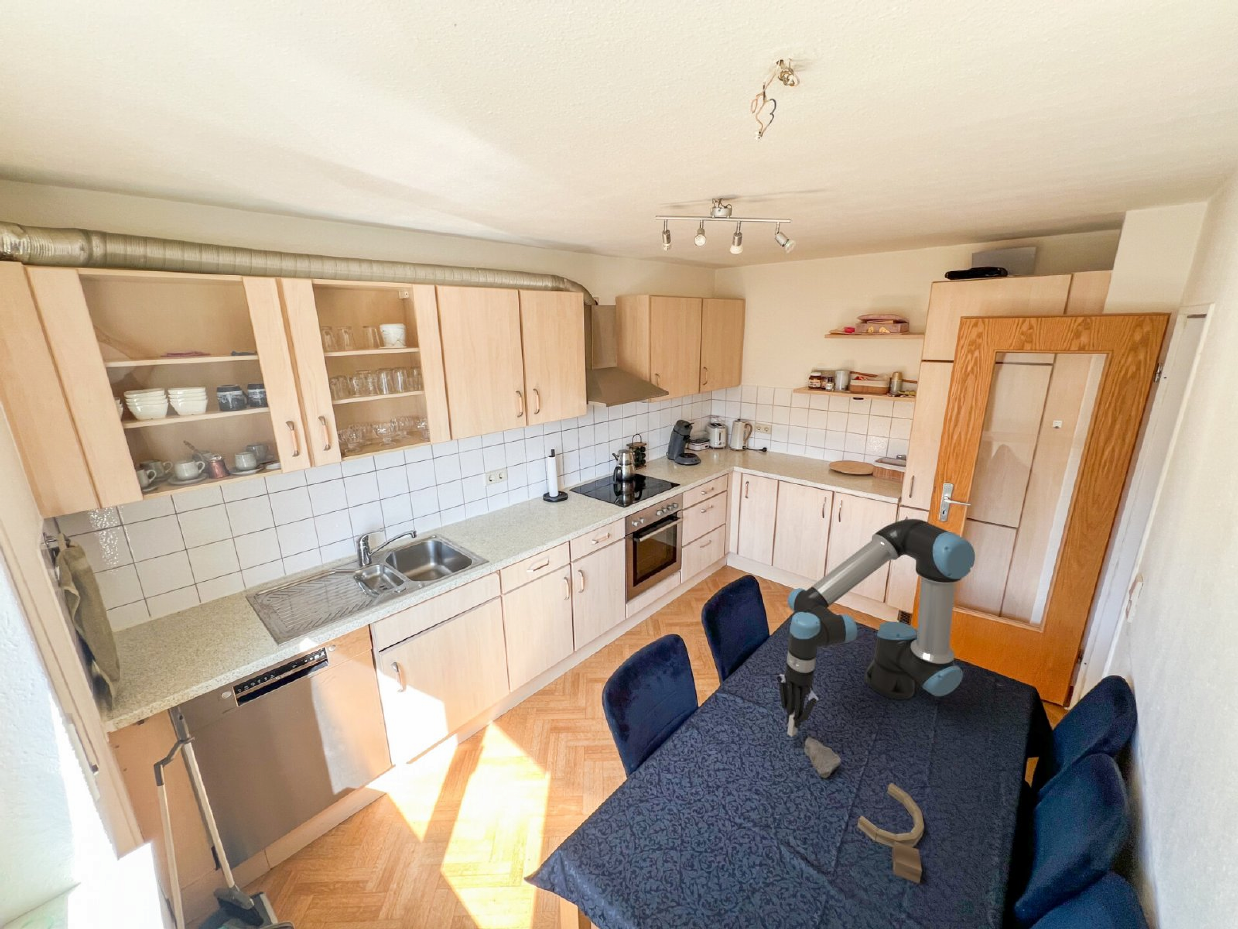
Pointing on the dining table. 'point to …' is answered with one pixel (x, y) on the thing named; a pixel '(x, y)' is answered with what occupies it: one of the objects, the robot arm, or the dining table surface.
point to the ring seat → (888, 837)
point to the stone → (821, 757)
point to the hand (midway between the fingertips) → (792, 733)
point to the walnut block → (906, 862)
